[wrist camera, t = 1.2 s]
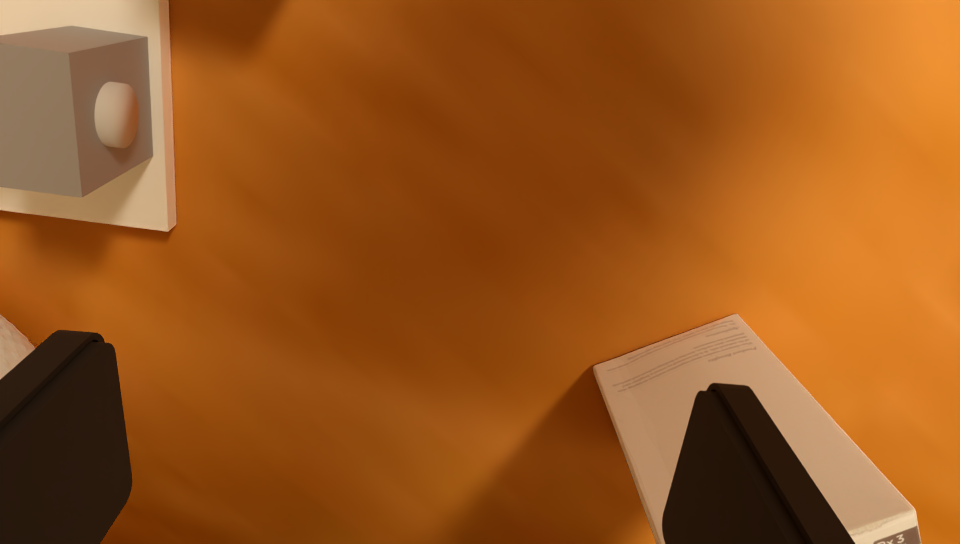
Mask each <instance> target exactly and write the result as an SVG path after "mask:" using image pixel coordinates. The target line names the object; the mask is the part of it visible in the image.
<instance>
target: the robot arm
mask: <svg viewBox="0 0 960 544" xmlns="http://www.w3.org/2000/svg"><path fill="white" fill-rule="evenodd" d="M131 487H132V473H131V465H130V458H129V450H128V443H127V436H126V428H125V421H124V413H123V406H122V398H121V391H120V383H119V376H118V368H117V361H116V353H115V349H114V347H113V345H112V344H110V343H105V342H104V339H103V337H102V336H101V335H100V334H98V333H92V332H79V331H67V330H58V331H56V332H54V333H53V334H52V335H51V336H49V337H48V338H47V339H46V340H45V341H44V342H43V343H41V344H40V345H39V346H38V347H37V348H36V349H35V350H33V351H32V352H31V353H30V354H29V355H28V356H26V357H25V358H24V359H23V360H22V361H21V362H20V363H18V364H17V365H16V366H15V367H14V368H13V369H12V370H10V371H9V372H8V373H7V374H6V375H5V376H4V377H2V378H1V379H0V544H100V542H101V541H102V539H103V538H104V536H105V535H106V533H107V532H108V530H109V528H110V527H111V525H112V524H113V522H114V521H115V519H116V518H117V516H118V514H119V513H120V511H121V510H122V508H123V507H124V505H125V504H126V502H127V500H128V498H129V495H130V491H131ZM662 532H663V538H664V541H665V544H855V542H854V541H853V539H852V538H851V536H850V535H849V533H848V532H847V530H846V529H845V527H844V526H843V524H842V523H841V521H840V520H839V518H838V517H837V515H836V514H835V512H834V511H833V509H832V508H831V506H830V505H829V503H828V502H827V500H826V499H825V497H824V496H823V494H822V493H821V492H820V490H819V489H818V487H817V486H816V484H815V483H814V481H813V480H812V478H811V477H810V475H809V474H808V472H807V471H806V469H805V468H804V466H803V465H802V463H801V462H800V460H799V459H798V457H797V456H796V454H795V453H794V451H793V450H792V448H791V447H790V445H789V444H788V442H787V441H786V439H785V438H784V436H783V435H782V434H781V432H780V431H779V429H778V428H777V426H776V425H775V423H774V422H773V420H772V419H771V417H770V416H769V414H768V413H767V411H766V410H765V408H764V407H763V405H762V404H761V402H760V401H759V399H758V398H757V396H756V395H755V393H754V392H753V390H752V389H751V388H750V387H749V386H746V385H737V384H724V383H712V384H710V385H709V387H708V388H707V390H706V391H702V390H701V391H699V392H698V393H697V395H696V397H695V400H694V404H693V407H692V411H691V415H690V418H689V422H688V426H687V429H686V433H685V436H684V440H683V444H682V447H681V451H680V454H679V458H678V462H677V465H676V469H675V473H674V476H673V480H672V483H671V487H670V491H669V494H668V498H667V501H666V505H665V509H664V512H663V517H662Z"/></svg>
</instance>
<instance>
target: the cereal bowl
mask: <svg viewBox="0 0 960 544" xmlns="http://www.w3.org/2000/svg"><path fill="white" fill-rule="evenodd" d="M35 349H36V348H35V347H34V346H33V344H31V343H30V342H29V340H28V339H27V337H26V336H24V335H23V334H22V333H21V332H20V331H19V330H18V329H17V328H16V327H15V326H14V324H12V323H10V322H8V321H7V320H6V318H4V317H2V315H1V314H0V379H1V378H2V377H4V376H5V375H6V374H7V373H8V372H9V371H10V370H12V369H13V368H14V367H15V366H16V365H17V364H18V363H20V362H21V361H22V360H23V359H24V358H25V357H26V356H28V355H29V354H30V353H31V352H32V351H33V350H35Z"/></svg>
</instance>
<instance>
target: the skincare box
mask: <svg viewBox="0 0 960 544" xmlns="http://www.w3.org/2000/svg"><path fill="white" fill-rule="evenodd" d="M593 372H594V375H595V378H596V381H597V383H598V386H599V389H600V391H601V394H602V396H603V399H604V402H605V404H606V407H607V410H608V412H609V415H610V417H611V420H612V423H613V426H614V428H615V431H616V434H617V436H618V439H619V442H620V445H621V447H622V450H623V453H624V456H625V458H626V461H627V464H628V467H629V469H630V472H631V475H632V478H633V480H634V483H635V486H636V489H637V491H638V494H639V497H640V500H641V502H642V505H643V508H644V510H645V513H646V516H647V519H648V521H649V524H650V527H651V530H652V532H653V535H654V538H655V541H656V543H657V544H665V541H664V538H663V532H662V517H663V512H664V509H665V505H666V501H667V498H668V494H669V491H670V487H671V483H672V480H673V476H674V473H675V469H676V465H677V462H678V458H679V454H680V451H681V447H682V444H683V440H684V436H685V433H686V429H687V426H688V422H689V418H690V415H691V411H692V407H693V404H694V400H695V397H696V395H697V393H698V392H699V391H701V390H702V391H706V390H707V388H708V387H709V385H710V384H712V383H724V384H737V385H746V386H749V387H750V388H751V389H752V390H753V392H754V393H755V395H756V396H757V398H758V399H759V401H760V402H761V404H762V405H763V407H764V408H765V410H766V411H767V413H768V414H769V416H770V417H771V419H772V420H773V422H774V423H775V425H776V426H777V428H778V429H779V431H780V432H781V434H782V435H783V436H784V438H785V439H786V441H787V442H788V444H789V445H790V447H791V448H792V450H793V451H794V453H795V454H796V456H797V457H798V459H799V460H800V462H801V463H802V465H803V466H804V468H805V469H806V471H807V472H808V474H809V475H810V477H811V478H812V480H813V481H814V483H815V484H816V486H817V487H818V489H819V490H820V492H821V493H822V494H823V496H824V497H825V499H826V500H827V502H828V503H829V505H830V506H831V508H832V509H833V511H834V512H835V514H836V515H837V517H838V518H839V520H840V521H841V523H842V524H843V526H844V527H845V529H846V530H847V532H848V533H849V535H850V536H851V538H852V539H853V541H854V542H855V544H921V538H920V533H919V527H918V522H917V516H916V510H915V509H914V507H913V506H912V505H911V504H910V503H909V502H908V501H907V500H906V498H905V497H904V496H903V495H902V494H901V493H900V492H899V491H898V490H897V489H896V488H895V487H894V486H893V484H892V483H891V482H890V481H889V480H888V479H887V478H886V477H885V476H884V475H883V474H882V472H881V471H880V470H879V469H878V468H877V467H876V466H875V465H874V464H873V463H872V461H871V460H870V459H869V458H868V457H867V456H866V455H865V454H864V453H863V452H862V450H861V449H860V448H859V447H858V446H857V445H856V444H855V443H854V442H853V441H852V439H851V438H850V437H849V436H848V435H847V434H846V433H845V432H844V431H843V430H842V429H841V427H840V426H839V425H838V424H837V423H836V422H835V421H834V420H833V419H832V417H831V416H830V415H829V414H828V413H827V412H826V411H825V410H824V409H823V407H822V406H821V405H820V404H819V403H818V402H817V401H816V400H815V399H814V397H813V396H812V395H811V394H810V393H809V392H808V391H807V390H806V389H805V388H804V387H803V386H802V385H801V383H800V382H799V381H798V380H797V379H796V378H795V377H794V376H793V375H792V373H791V372H790V371H789V370H788V369H787V368H786V367H785V366H784V365H783V364H782V362H781V361H780V360H779V359H778V358H777V357H776V356H775V355H774V354H773V353H772V352H771V350H770V349H769V348H768V347H767V346H766V345H765V344H764V343H763V342H762V341H761V339H760V338H759V337H758V336H757V335H756V334H755V333H754V332H753V331H752V329H751V328H750V327H749V326H748V325H747V324H746V323H745V322H744V321H743V320H742V318H741V317H740V316H739V315H738V314H733V315H730V316H727V317H725V318H722V319H719V320H717V321H714V322H711V323H709V324H706V325H703V326H700V327H698V328H695V329H692V330H690V331H687V332H684V333H681V334H679V335H676V336H673V337H671V338H668V339H665V340H662V341H660V342H657V343H654V344H651V345H649V346H646V347H643V348H640V349H638V350H635V351H633V352H630V353H628V354H625V355H623V356H620V357H618V358H615V359H612V360H609V361H606V362H603V363H600V364H597V365H595V366H593Z"/></svg>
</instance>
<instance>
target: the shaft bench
mask: <svg viewBox="0 0 960 544" xmlns="http://www.w3.org/2000/svg"><path fill="white" fill-rule="evenodd" d="M0 210H3V211H11V212H19V213H27V214H34V215H42V216H50V217H58V218H65V219H73V220H81V221H89V222H97V223H104V224H112V225H120V226H128V227H136V228H143V229H151V230H159V231H167V232H168V231H169V230H171V229H172V228H173V227H174V226H175V225H176V224H177V222H176V193H175V165H174V136H173V108H172V79H171V51H170V22H169V0H0Z"/></svg>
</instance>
